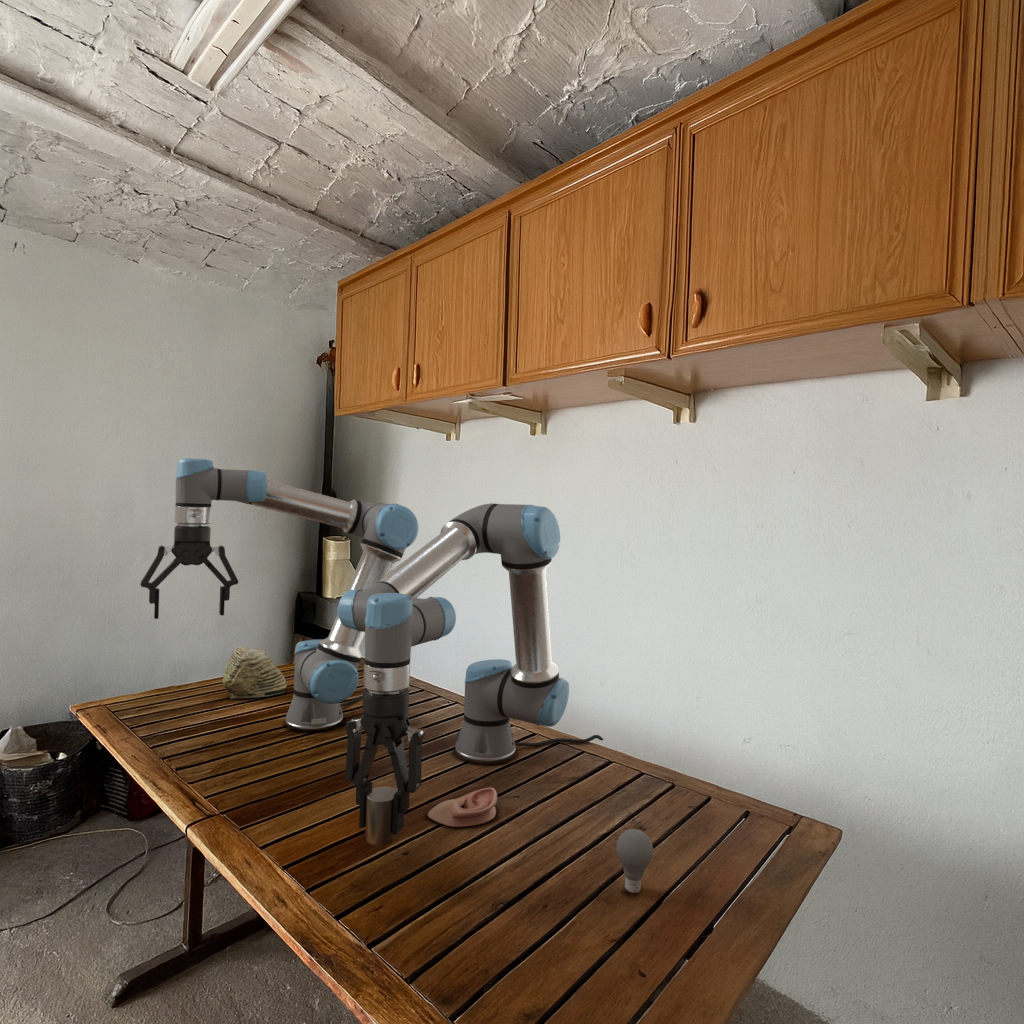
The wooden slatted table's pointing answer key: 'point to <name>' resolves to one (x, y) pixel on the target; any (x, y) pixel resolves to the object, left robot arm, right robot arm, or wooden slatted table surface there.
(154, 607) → the left robot arm
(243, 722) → the wooden slatted table surface
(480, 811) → the anatomical model
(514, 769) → the wooden slatted table surface
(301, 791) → the wooden slatted table surface
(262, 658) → the fossil
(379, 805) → the canister
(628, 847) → the light bulb
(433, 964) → the wooden slatted table surface
